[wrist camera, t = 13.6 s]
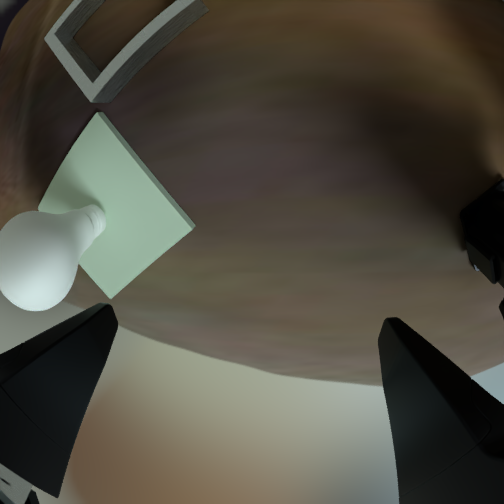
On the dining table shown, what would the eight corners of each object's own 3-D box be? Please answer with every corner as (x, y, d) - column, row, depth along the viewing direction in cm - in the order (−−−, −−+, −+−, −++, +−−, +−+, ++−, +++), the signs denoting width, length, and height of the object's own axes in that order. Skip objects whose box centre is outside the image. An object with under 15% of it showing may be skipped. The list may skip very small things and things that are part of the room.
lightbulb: (66, 189, 19) (-32, 243, 9) (117, 171, 18) (0, 226, 8) (87, 252, 21) (7, 326, 12) (139, 245, 20) (52, 336, 10)
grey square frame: (141, -39, 10) (128, -50, 7) (209, 10, 13) (199, -3, 10) (62, 41, 13) (44, 38, 11) (110, 102, 16) (90, 102, 14)
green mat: (102, 112, 16) (96, 112, 16) (195, 225, 20) (192, 229, 19) (43, 205, 21) (37, 208, 20) (114, 294, 24) (110, 299, 23)
